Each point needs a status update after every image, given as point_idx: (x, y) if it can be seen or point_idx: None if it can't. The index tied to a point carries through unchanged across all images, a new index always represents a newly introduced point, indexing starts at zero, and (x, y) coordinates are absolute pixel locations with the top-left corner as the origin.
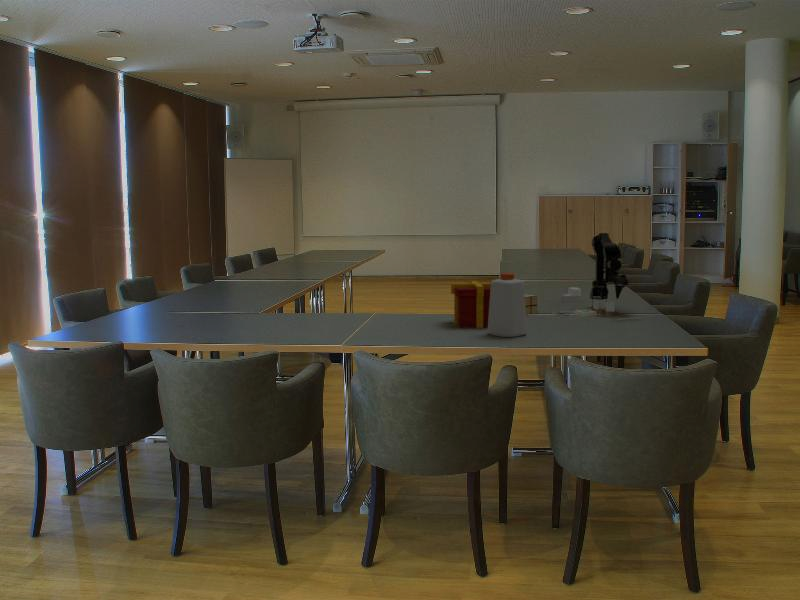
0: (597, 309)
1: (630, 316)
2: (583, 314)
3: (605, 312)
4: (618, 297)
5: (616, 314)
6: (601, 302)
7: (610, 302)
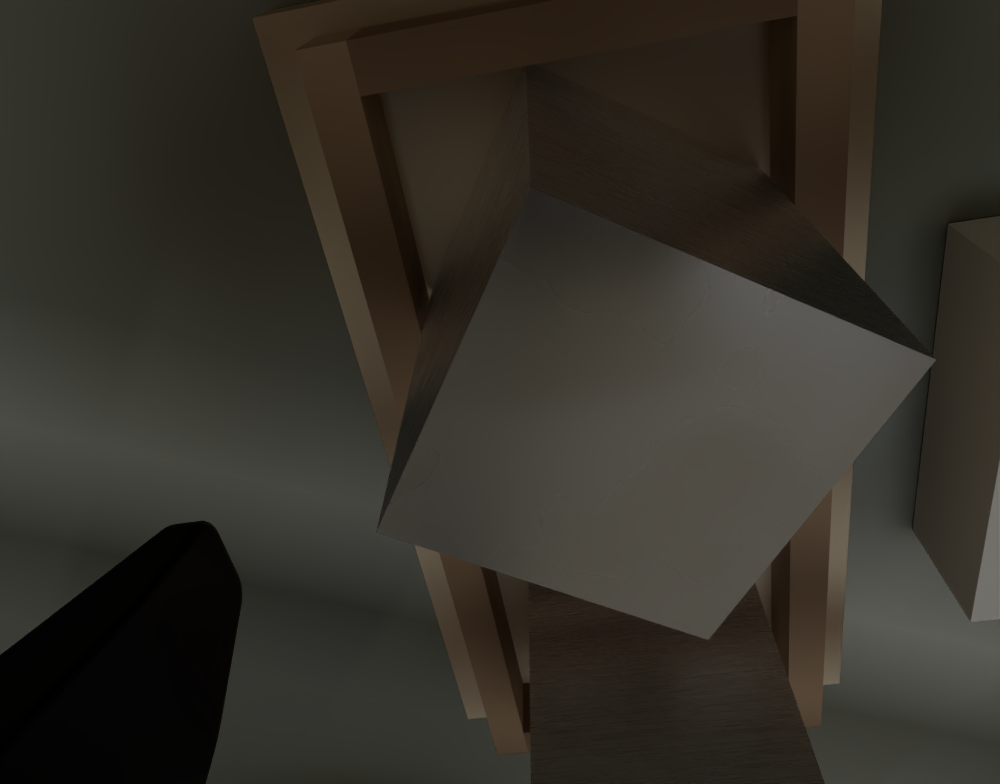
0: None
1: (8, 129)
2: None
3: (816, 145)
4: (142, 553)
5: (480, 6)
6: (678, 720)
7: (722, 259)
